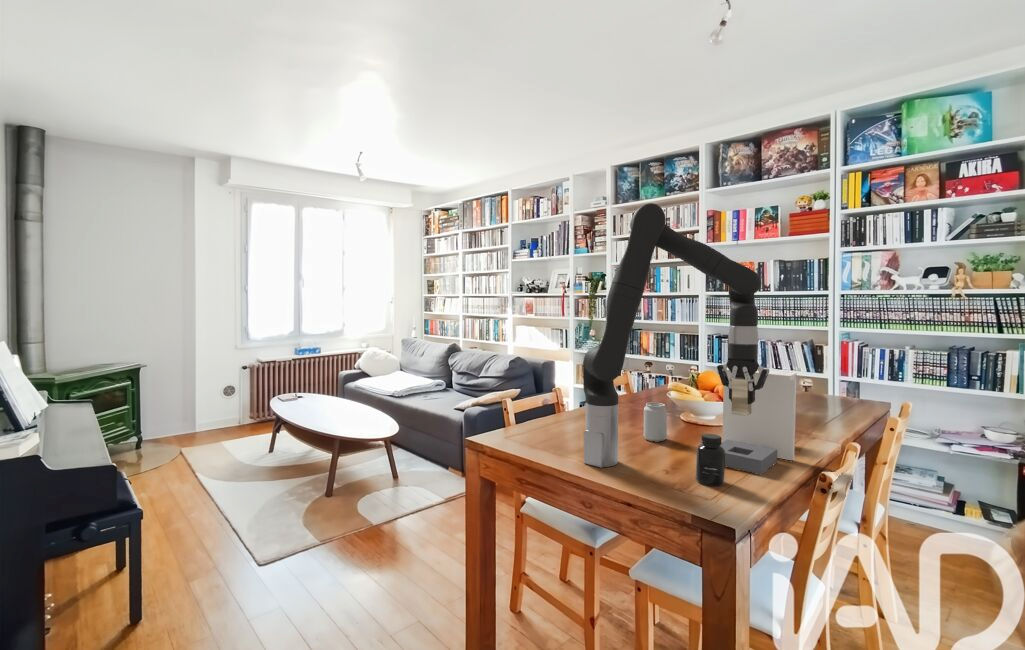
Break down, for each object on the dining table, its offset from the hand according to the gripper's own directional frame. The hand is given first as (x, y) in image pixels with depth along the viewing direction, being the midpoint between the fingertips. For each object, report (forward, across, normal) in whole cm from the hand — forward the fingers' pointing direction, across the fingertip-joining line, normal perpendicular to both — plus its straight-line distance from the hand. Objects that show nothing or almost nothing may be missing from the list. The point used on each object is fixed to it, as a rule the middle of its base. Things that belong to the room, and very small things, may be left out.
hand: (741, 402), depth 140 cm
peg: (+3, 0, 0) cm, 3 cm away
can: (+18, -30, +7) cm, 36 cm away
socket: (+18, 0, +2) cm, 18 cm away
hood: (+18, 0, +11) cm, 21 cm away
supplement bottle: (+18, -1, -19) cm, 26 cm away
